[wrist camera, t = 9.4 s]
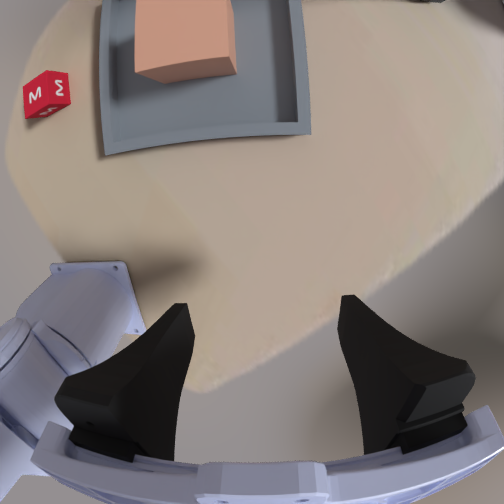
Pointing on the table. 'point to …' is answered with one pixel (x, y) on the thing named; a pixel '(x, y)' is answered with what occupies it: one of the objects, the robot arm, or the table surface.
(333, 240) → the table surface
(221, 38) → the wooden cube
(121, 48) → the tray
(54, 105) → the red letter cube
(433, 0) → the bottle
